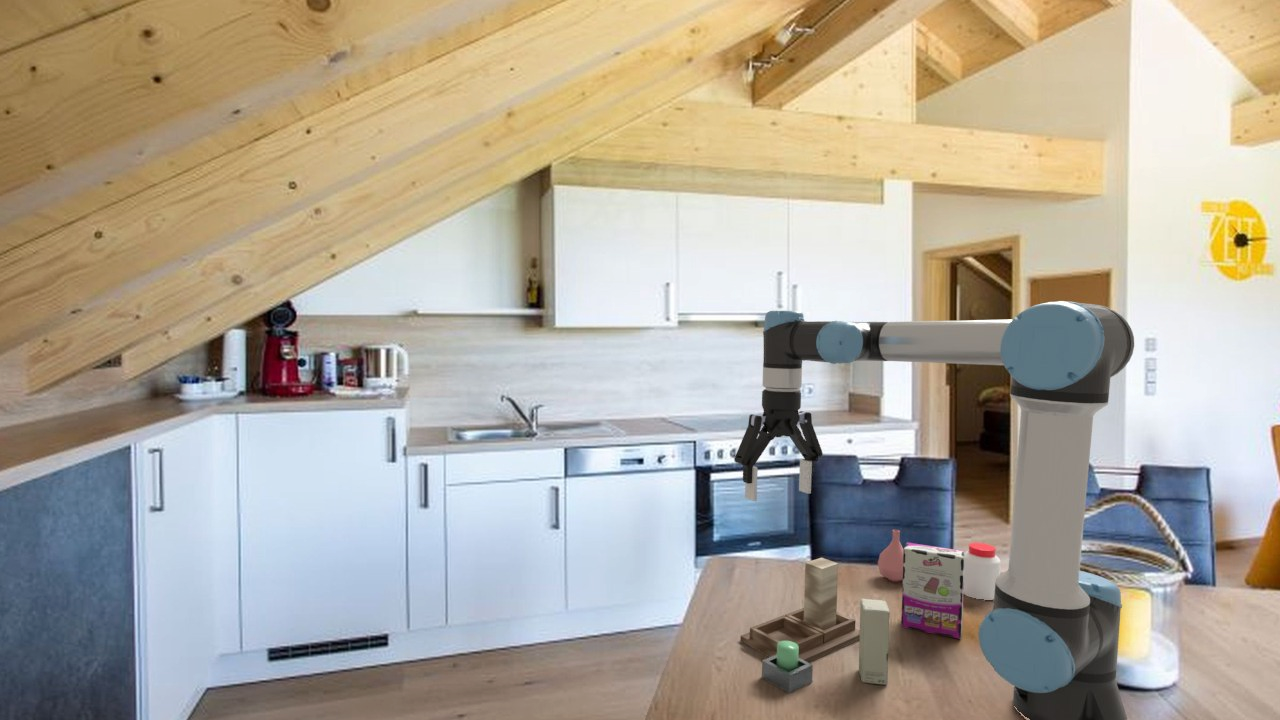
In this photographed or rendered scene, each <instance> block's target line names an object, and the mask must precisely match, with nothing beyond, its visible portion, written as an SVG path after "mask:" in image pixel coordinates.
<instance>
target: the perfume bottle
mask: <svg viewBox="0 0 1280 720" xmlns="http://www.w3.org/2000/svg"><path fill="white" fill-rule="evenodd" d="M900 532H901V531H900V530H899V529H892V540H891V541H890V543H889V545H888V546H887V547H886V548H885V549H884V550H882V551H881V553H879V557H878V561H877V566H878V570H879V573H880V575H881V576H883V577H884V578H887V579H889V581H891V582H900V581H903V554H904V548H903V546H902V543H901V541H900Z"/></svg>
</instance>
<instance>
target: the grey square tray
mask: <svg viewBox="0 0 1280 720" xmlns="http://www.w3.org/2000/svg"><path fill="white" fill-rule="evenodd" d="M813 669H814V668H813V664H811V662H809V663H808V662H806V661H804V660H802V659H800V658H799V657H798V668H797V669H795V670H792V671H790V672H788V671H786V670H784V669H782V668H780V667H779V666H777V654H776V655H774V656H772V657H769V656H768V658H765V659H763V660H761V678H762V679H763V680H766V681H767V682H769V683H770V684H772V685H774V686H776V687H778V688H779V689H781V690H782V691H784V692H785V693H788V694H790V693H792V692H794V691H796V690H798V689H800V688H801V689H802V687H805V686H808V685H809V684H811V683H813Z"/></svg>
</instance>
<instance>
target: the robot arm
mask: <svg viewBox="0 0 1280 720" xmlns="http://www.w3.org/2000/svg"><path fill="white" fill-rule="evenodd" d="M762 331H763V332H762V334H763V360H762V361H763V362H762V364H763V365H762V387H764V388H765V389H763V390H762V391H761V406H762V407H761V408H762V409H763V413H762V415H756V414H750V415H749V417H748V423H747V424H748V425H747V427H746V431H745V432H744V435H743V438H742V439H741V442H740V444H739V447H738V449H737V451H736V454H735V456H734V459H733V461H734V463H736V464H739V465H742V481H743V483H745V484H744V485H745V488H744V489H745V491H744V493H745V494H744V498H745V499H746V500H749V501H752V502H757V501H758V499H757V498H758V497H757V496H758V471H759V470H758V467H757V466H755V465H756V463H757V462H758V461H759V459H760V457H762V454H763V452H764V451H765V450H766V448H767V447H768V445H769V444H770V443H771V442H772V441H773V440H774V439H775V438H781V437H789V438H790V440H791V441H792V442H793V444H794V446H795V447H796V448H797V450H798V452H799V453H800V454H801V456H802V457H803V458H800V459H799V473H798V474H799V475H798V476H799V479H798V491H799V492H802V493H805V494H808V495H809V494H811V493H812V476H813V475H814V471H815V470H814V466H815V462H818V460H819V457H823V453H824V452H823V450H822V448H821V445H820V442H819V439H818V436H817V434H816V431H815V428H814V425H813V421H812V420H813V419H812V418H813V417H812V413H811V412H808V411H801V410H800V409H801V408H802V406H801V405H802V392H801V390H799V389H801V388H802V381H803V380H802V375H803V372H802V371H803V368H802V367H803V361H811V362H820V363H830V364H833V365H835V364H850V363H853V362H857V361H859V362H860V361H863V362H864V361H867V362H869V361H870V362H872V361H873V362H905V363H906V362H907V363H909V362H910V363H935V364H960V365H963V364H964V365H984V366H986V365H987V366H988V365H989V366H990V365H991V366H1004V368H1005V370H1007V373H1009V375H1010V377H1011V378H1010V390H1009V391H1010V394H1009V396H1010V397H1011V399H1013V401H1014V402H1015V403H1016V404H1017V405H1018V406H1019V407H1020V420H1019V434H1018V443H1017V444H1018V445H1017V457H1016V458H1017V459H1016V468H1015V470H1016V471H1015V472H1016V473H1015V484H1014V497H1013V506H1012V507H1013V508H1012V510H1013V511H1012V520H1011V534H1010V546H1009V556H1008V557H1009V559H1008V569H1007V570H1005V571H1004V572H1003V573H1000V575H999V576H998V577H997V578H996V583H995V594H994V600H993V608H992V610H991V611H990V612H987V614H985V615H984V618H983V620H982V621H981V623H980V625H979V628H978V642H979V645H980V649H981V653H982V654H983V656H984V658H985V660H986V661H987V663H990V665H991V667H992V668H993V670H994V671H995V673H996V674H998V676H1000V677H1001V678H1002V679H1003V680H1004V681H1006V682H1008V684H1010V685H1012V686H1013V692H1012V693H1013V697H1012V703H1014V705H1013V706H1015V707H1016V708H1017V710H1018V711H1019V712H1021V713H1022V714H1023V715H1024V716H1025V717H1027V718H1029V719H1030V720H1128V715H1127V713H1126V709H1125V706H1124V703H1123V699H1122V697H1121V694H1120V690H1119V687H1118V684H1117V667H1118V655H1119V637H1120V623H1121V622H1120V621H1121V609H1122V608H1123V605H1122V597H1121V596H1122V594H1121V593H1122V592H1121V590H1120V588H1119V586H1118V585H1117V584H1116V583H1115V582H1113V581H1111V580H1109V579H1107V578H1105V577H1102V576H1100V575H1096V574H1094V573H1090V572H1087V571H1084V570H1081V558H1082V547H1083V546H1082V545H1083V537H1084V536H1083V535H1084V525H1085V524H1084V523H1085V514H1086V503H1087V489H1088V481H1089V480H1088V479H1089V468H1090V456H1091V445H1092V433H1093V420H1094V416H1095V414H1096V413H1097V412H1099V411H1101V410H1102V409H1103V408H1105V407H1106V406H1107V405H1109V396H1110V386H1111V378H1112V377H1114V376H1116V375H1118V373H1120V372H1121V371H1122V370H1123V369H1124V368H1125V367H1126V366H1127V365H1128V363H1129V362H1130V360H1131V359H1132V356H1133V354H1134V350H1135V336H1134V333H1133V330H1132V328H1131V326H1130V324H1129V322H1128V321H1127V320H1126V319H1125V317H1123V315H1121V314H1119V313H1118V312H1117V311H1115V310H1114V309H1111V308H1110V307H1107V306H1104V305H1100V304H1094V303H1082V302H1075V301H1065V300H1058V301H1048V302H1044V303H1040V304H1039V303H1038V304H1035V305H1033V306H1030V307H1028V308H1026V309H1024V310H1023V311H1021V312H1019V313H1018V314H1017V315H1016V316H1015V317H1013V319H976V320H975V319H974V320H973V319H971V320H920V321H919V320H918V321H917V320H916V321H915V320H914V321H912V320H911V321H858V322H857V321H855V322H854V321H843V320H842V321H841V320H840V321H839V320H838V321H837V320H832V321H830V320H829V321H825V320H824V321H819V320H818V321H808V320H805V319H804V313H803V312H802V311H800V310H769V311H767V312H766V314H765V316H764V324H763V330H762ZM799 410H800V411H799ZM798 425H799V426H800V428H799V427H798ZM800 429H801V430H800ZM1015 707H1014V708H1015Z"/></svg>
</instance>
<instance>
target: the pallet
mask: <svg viewBox="0 0 1280 720" xmlns="http://www.w3.org/2000/svg"><path fill="white" fill-rule="evenodd" d="M804 566H805V567H804V569H805V570H804V593H803V595H804V600H803V607H802V608H799V609H797V610H794V611H791V612H790V613H786V614H783V615H781V616H778V617H776V618H772V619H771V620H767V621H765V622H762V623H760V624H757V625H755V626H753V627H752V626H751V627H749V632H746V633H745V634H742V635H740V639H739V640H740V642H741V643H743V644H745V645H747V646H749V647H751V648H753V649H755V650H756V651H758V652H760V653H761V654H763V655H766V656H768V658H769V657H772V656H774V655H776V654H777V643H778V642H780V641H791V642H794V643H796V644H797V645H798V646H799V653H798V657H799V658H800V659H802V660H804V661H806V662H808V663H811V662H813V661H816V660H818V659H820V658H823V657H824V656H827V655H829V654H832V653H834V652H836V651H838V650H840V649H842V648H845V647H847V646H849V645H851V644H853V643H855V642H859V640H860V629H858V628H856V620H855V619H853V618H852V617H848V616H847V615H844V614H842V613H840V612H837V608H838V607H837V605H838V582H839V581H838V580H839V577H838V576H839V574H838V573H839V563H837V562H835V561H832V560H830V559H827V558H824V557H819V558H816V559H813V560H810V561H806V562H805V565H804Z"/></svg>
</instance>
